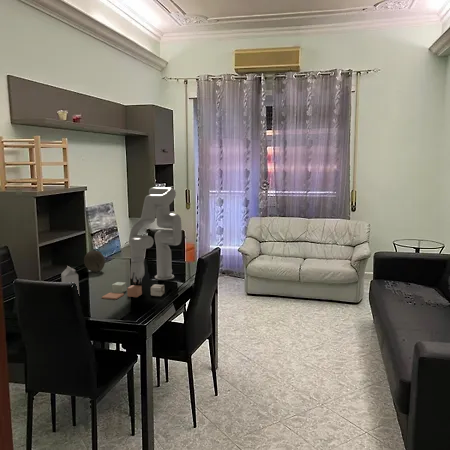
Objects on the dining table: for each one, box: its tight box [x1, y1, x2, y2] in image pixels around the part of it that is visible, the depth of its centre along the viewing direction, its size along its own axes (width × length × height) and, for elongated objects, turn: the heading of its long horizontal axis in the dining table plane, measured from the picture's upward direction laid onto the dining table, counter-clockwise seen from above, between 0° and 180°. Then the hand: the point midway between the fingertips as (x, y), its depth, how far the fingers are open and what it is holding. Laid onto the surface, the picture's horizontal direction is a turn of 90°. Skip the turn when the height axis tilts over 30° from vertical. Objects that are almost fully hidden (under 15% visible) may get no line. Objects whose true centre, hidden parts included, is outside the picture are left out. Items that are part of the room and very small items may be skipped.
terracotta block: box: [126, 284, 143, 298], centre depth 258 cm, size 6×6×5 cm
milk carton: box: [60, 265, 80, 295], centre depth 248 cm, size 7×7×19 cm
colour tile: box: [101, 292, 125, 300], centre depth 257 cm, size 9×9×1 cm
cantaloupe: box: [83, 250, 106, 273], centre depth 313 cm, size 14×14×15 cm
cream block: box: [150, 284, 165, 297], centre depth 260 cm, size 6×6×5 cm
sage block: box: [111, 281, 128, 293], centre depth 266 cm, size 6×6×5 cm
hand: (138, 289), depth 264 cm, fingers closed
